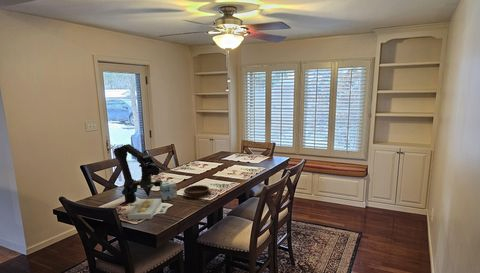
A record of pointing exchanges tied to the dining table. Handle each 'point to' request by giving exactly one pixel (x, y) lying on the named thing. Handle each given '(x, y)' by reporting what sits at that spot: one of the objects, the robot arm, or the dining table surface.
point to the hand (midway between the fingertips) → (148, 196)
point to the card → (162, 210)
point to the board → (148, 213)
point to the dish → (197, 191)
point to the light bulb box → (168, 190)
